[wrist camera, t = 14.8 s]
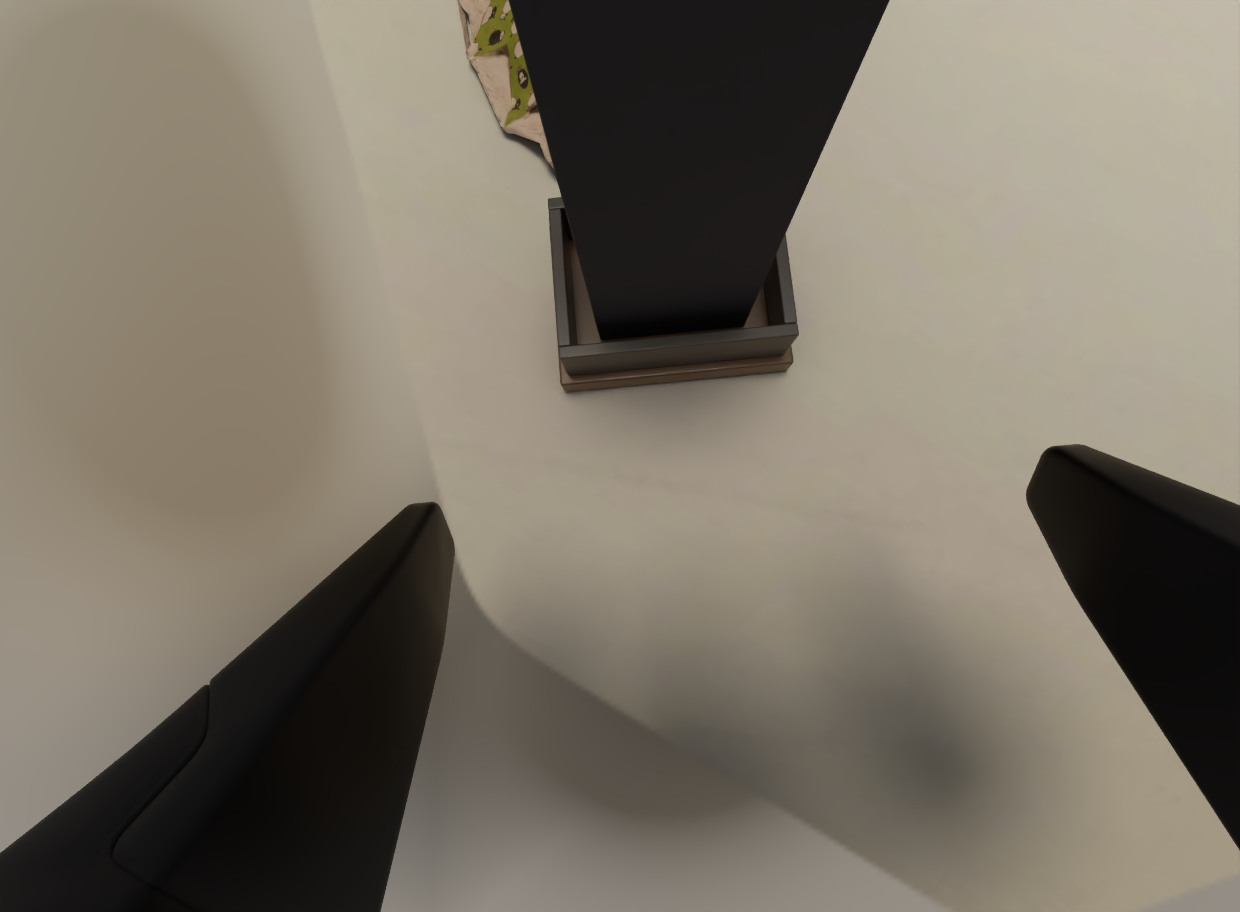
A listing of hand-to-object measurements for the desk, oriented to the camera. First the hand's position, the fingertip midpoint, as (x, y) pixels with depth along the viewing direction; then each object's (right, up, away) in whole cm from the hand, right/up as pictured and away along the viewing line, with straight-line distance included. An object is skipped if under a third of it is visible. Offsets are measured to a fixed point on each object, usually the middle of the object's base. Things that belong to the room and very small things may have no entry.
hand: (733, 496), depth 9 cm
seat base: (0, +6, +12) cm, 14 cm away
